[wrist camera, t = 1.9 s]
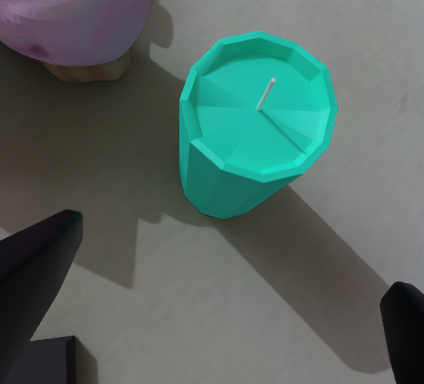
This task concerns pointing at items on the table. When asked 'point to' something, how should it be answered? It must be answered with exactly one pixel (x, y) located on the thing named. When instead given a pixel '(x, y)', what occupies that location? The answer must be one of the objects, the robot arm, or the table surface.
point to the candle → (251, 121)
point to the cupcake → (75, 35)
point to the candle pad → (46, 363)
